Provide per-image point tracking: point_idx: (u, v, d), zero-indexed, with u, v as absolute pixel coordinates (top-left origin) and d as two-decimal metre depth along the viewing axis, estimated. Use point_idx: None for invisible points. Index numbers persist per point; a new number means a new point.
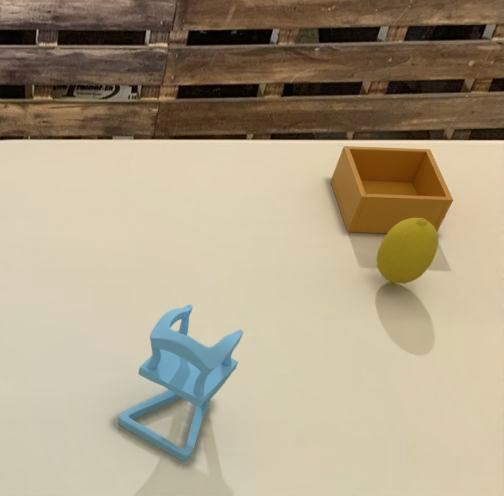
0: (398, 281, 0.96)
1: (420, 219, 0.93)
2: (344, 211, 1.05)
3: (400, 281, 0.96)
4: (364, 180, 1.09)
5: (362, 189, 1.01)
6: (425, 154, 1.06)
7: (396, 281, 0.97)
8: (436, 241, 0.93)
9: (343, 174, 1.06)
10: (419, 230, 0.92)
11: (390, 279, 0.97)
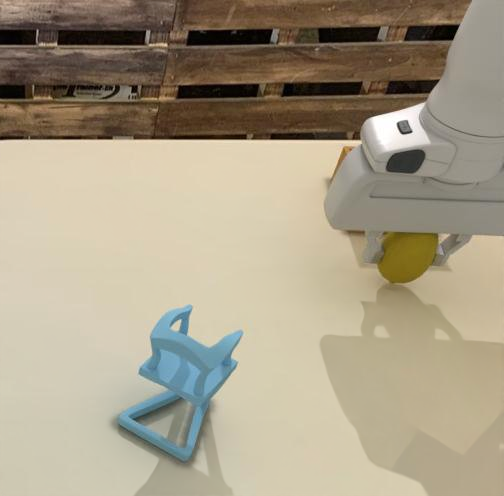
0: (398, 281, 0.96)
1: None
2: None
3: (400, 281, 0.96)
4: None
5: None
6: None
7: (396, 281, 0.97)
8: (436, 241, 0.93)
9: None
10: None
11: (390, 279, 0.97)
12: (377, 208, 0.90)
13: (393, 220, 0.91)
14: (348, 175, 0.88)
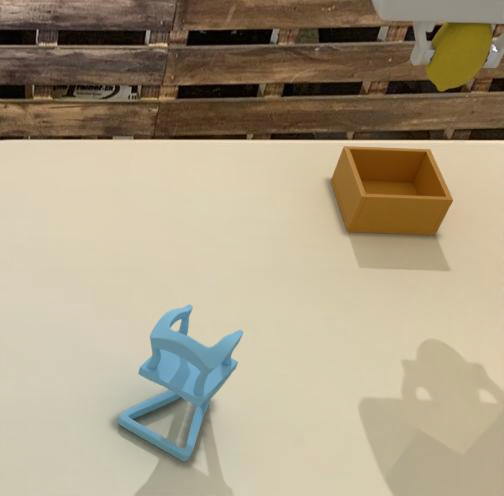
0: (449, 84, 0.91)
1: None
2: (344, 211, 1.05)
3: (451, 84, 0.91)
4: (364, 180, 1.09)
5: (362, 189, 1.01)
6: (425, 154, 1.06)
7: (446, 84, 0.91)
8: (491, 34, 0.88)
9: (343, 174, 1.06)
10: None
11: (440, 82, 0.92)
12: None
13: (446, 6, 0.86)
14: None
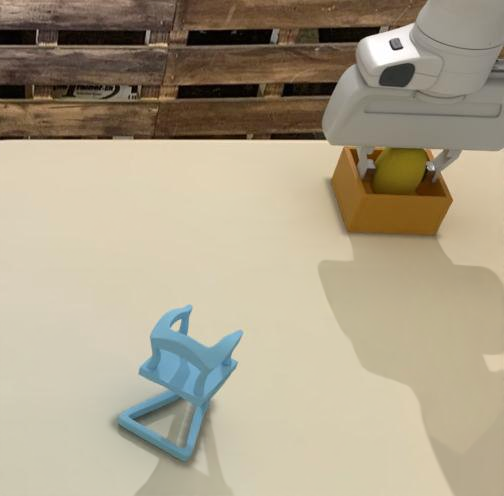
0: None
1: None
2: (344, 211, 1.05)
3: None
4: (364, 180, 1.09)
5: (362, 189, 1.01)
6: None
7: None
8: (424, 160, 1.01)
9: (343, 174, 1.06)
10: (409, 150, 1.00)
11: None
12: (371, 123, 0.97)
13: (386, 135, 0.98)
14: (344, 92, 0.96)
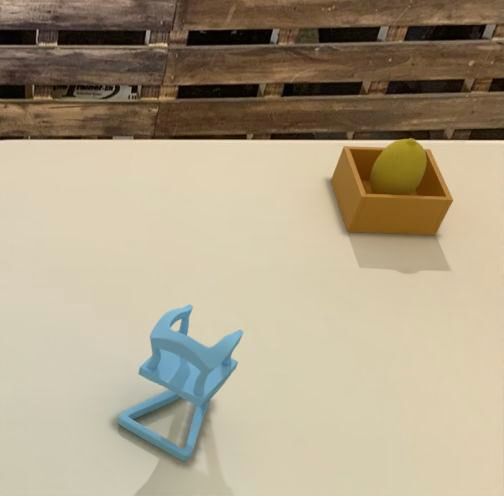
0: None
1: (409, 140, 1.00)
2: (344, 211, 1.05)
3: None
4: (364, 180, 1.09)
5: (362, 189, 1.01)
6: None
7: None
8: (424, 160, 1.01)
9: (343, 174, 1.06)
10: (409, 149, 1.00)
11: None
12: None
13: None
14: None
